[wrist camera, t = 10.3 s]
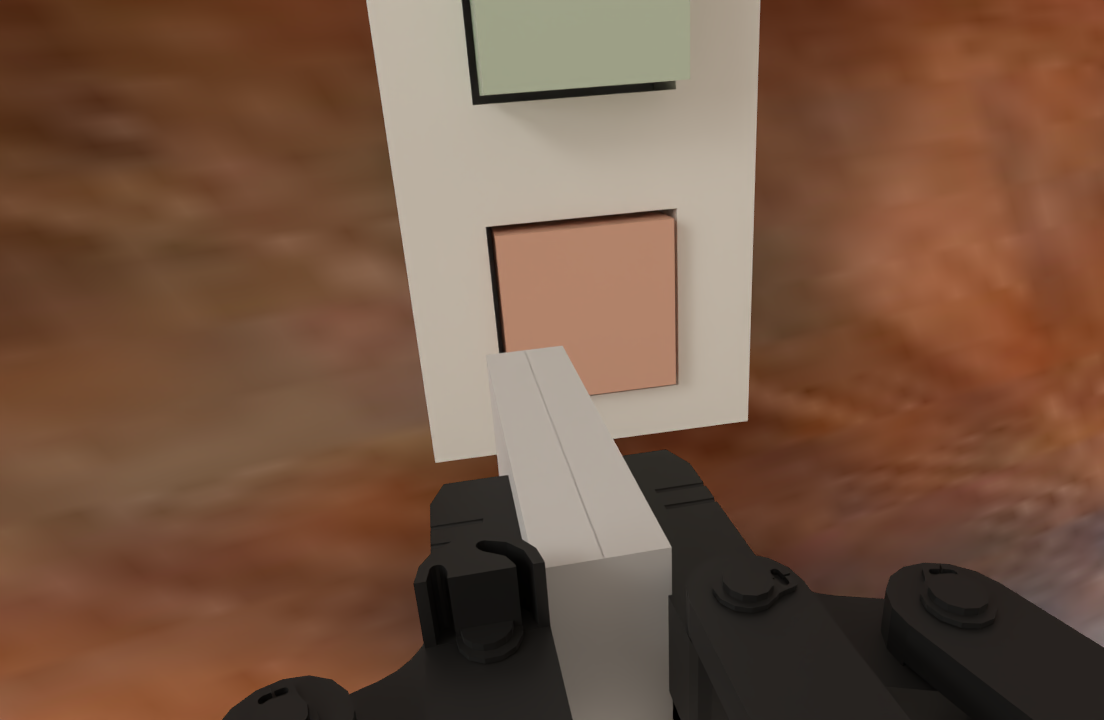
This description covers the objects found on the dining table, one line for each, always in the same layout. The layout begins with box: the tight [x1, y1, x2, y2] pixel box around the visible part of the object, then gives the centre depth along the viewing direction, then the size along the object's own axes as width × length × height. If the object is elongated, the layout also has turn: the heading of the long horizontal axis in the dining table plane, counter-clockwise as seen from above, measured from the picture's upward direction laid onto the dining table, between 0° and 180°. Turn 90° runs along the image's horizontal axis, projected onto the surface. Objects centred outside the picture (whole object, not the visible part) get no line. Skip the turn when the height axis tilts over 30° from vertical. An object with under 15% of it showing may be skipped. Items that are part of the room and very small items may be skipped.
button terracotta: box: [490, 210, 676, 395], centre depth 30 cm, size 7×7×3 cm
